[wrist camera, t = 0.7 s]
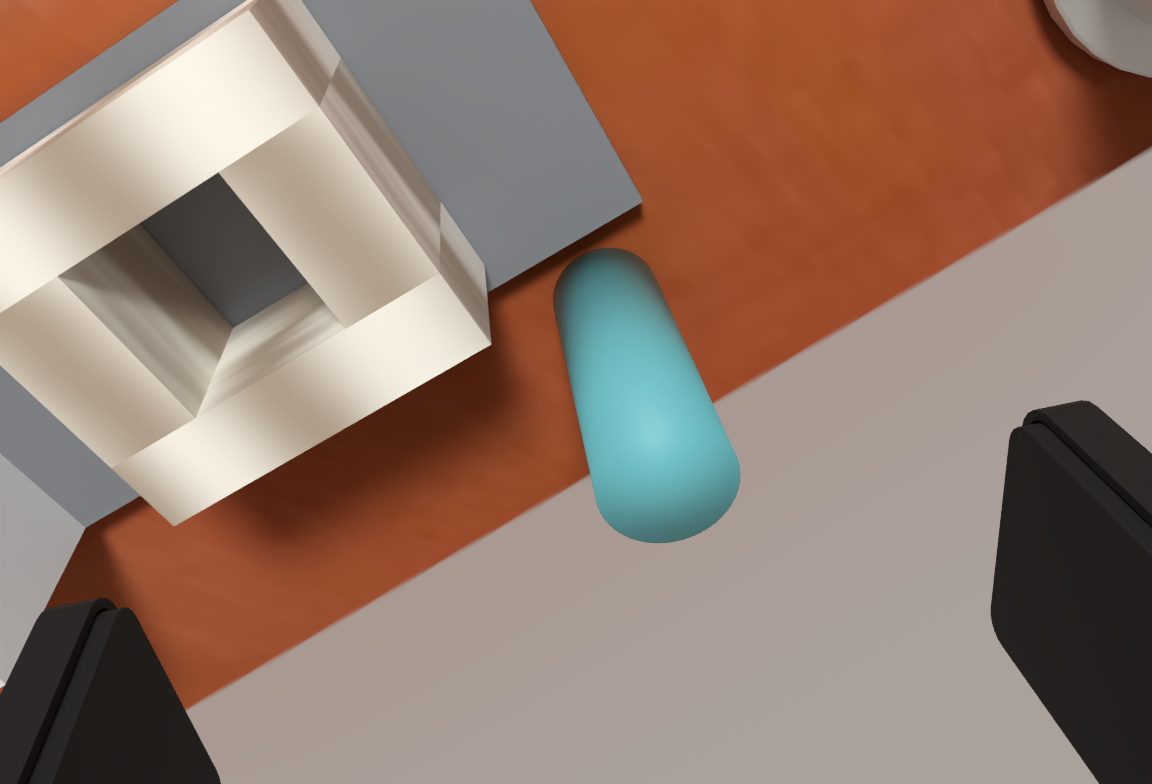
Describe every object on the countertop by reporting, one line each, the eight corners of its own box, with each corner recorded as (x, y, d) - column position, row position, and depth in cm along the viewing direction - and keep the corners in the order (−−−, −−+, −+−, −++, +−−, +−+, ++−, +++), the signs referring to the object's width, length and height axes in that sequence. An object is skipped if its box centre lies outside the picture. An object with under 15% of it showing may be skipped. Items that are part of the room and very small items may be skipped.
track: (431, -174, 28) (426, -170, 20) (638, 192, 35) (693, 299, 27) (-280, 316, 33) (-500, 467, 25) (17, 556, 39) (-87, 736, 32)
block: (283, -25, 29) (248, 9, 24) (484, 264, 34) (491, 344, 29) (-23, 183, 31) (-117, 256, 26) (212, 425, 36) (173, 526, 31)
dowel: (627, 228, 35) (701, 397, 25) (675, 311, 37) (763, 500, 27) (533, 282, 36) (568, 469, 26) (585, 361, 38) (637, 564, 28)
